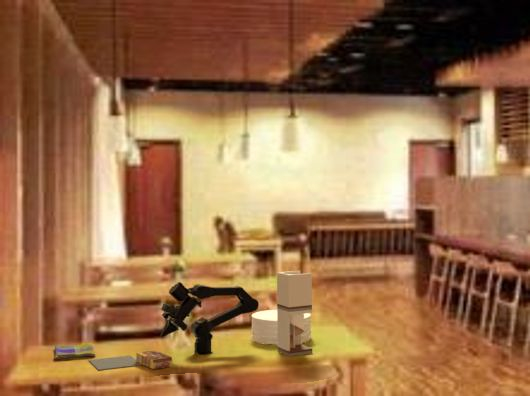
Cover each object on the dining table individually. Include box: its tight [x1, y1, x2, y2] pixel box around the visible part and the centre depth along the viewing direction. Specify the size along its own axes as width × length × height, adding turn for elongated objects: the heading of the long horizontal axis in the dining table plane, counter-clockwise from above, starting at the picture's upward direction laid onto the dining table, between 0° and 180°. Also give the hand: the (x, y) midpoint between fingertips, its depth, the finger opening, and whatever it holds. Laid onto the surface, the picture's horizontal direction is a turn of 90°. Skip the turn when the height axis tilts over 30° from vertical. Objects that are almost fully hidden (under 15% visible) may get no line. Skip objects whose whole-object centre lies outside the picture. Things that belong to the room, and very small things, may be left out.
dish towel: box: [53, 342, 96, 361], centre depth 350 cm, size 18×24×3 cm
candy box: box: [135, 350, 173, 370], centre depth 328 cm, size 9×4×15 cm
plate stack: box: [251, 309, 312, 346], centre depth 375 cm, size 28×28×12 cm
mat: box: [88, 354, 143, 372], centre depth 332 cm, size 18×18×1 cm
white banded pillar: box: [276, 270, 313, 357], centre depth 346 cm, size 11×11×35 cm
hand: (161, 336), depth 340 cm, fingers closed
